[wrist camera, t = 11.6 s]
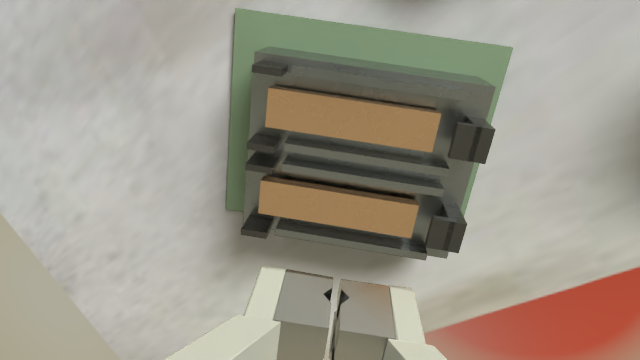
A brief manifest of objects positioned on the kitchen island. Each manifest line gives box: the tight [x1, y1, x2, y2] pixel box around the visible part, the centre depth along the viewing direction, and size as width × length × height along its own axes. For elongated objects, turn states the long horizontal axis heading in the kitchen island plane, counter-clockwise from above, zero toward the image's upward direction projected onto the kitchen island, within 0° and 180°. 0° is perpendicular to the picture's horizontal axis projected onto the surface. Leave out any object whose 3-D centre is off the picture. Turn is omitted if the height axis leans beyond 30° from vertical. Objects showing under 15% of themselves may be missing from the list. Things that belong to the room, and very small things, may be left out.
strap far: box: [258, 176, 419, 238], centre depth 32 cm, size 12×3×1 cm, turn 82°
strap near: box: [265, 86, 441, 153], centre depth 30 cm, size 12×3×1 cm, turn 82°
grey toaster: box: [241, 46, 496, 260], centre depth 33 cm, size 17×14×8 cm
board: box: [226, 8, 513, 217], centre depth 37 cm, size 22×18×1 cm
